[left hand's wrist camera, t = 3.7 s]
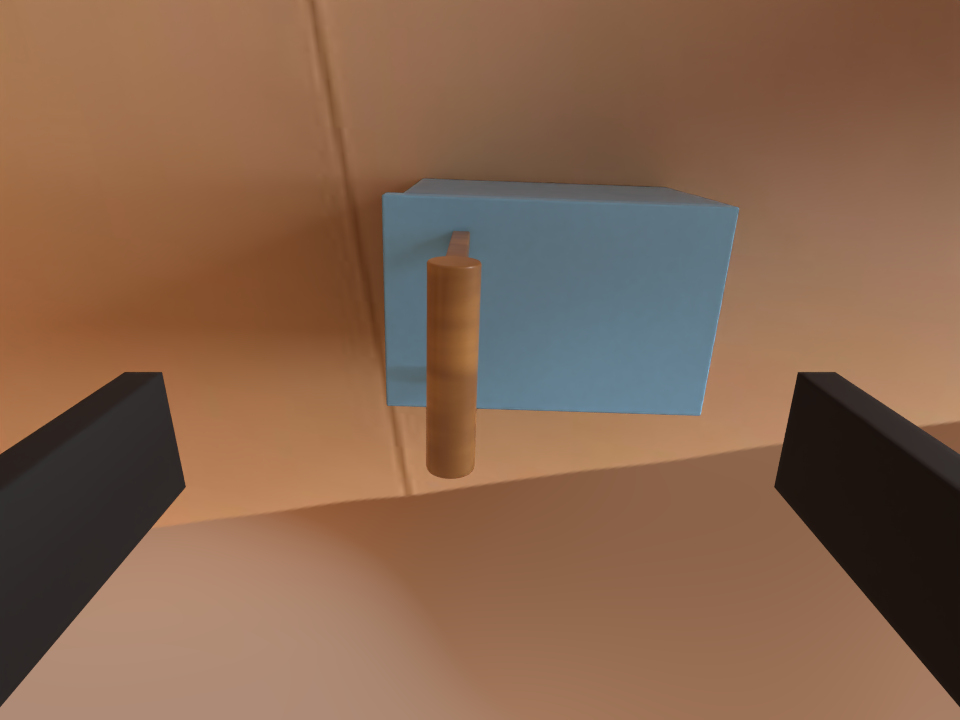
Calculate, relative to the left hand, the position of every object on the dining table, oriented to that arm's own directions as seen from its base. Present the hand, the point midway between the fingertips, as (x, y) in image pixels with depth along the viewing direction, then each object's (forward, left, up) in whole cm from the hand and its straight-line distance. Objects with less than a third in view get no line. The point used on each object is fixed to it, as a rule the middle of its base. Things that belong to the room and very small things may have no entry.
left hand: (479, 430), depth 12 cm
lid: (+3, -1, -14) cm, 14 cm away
